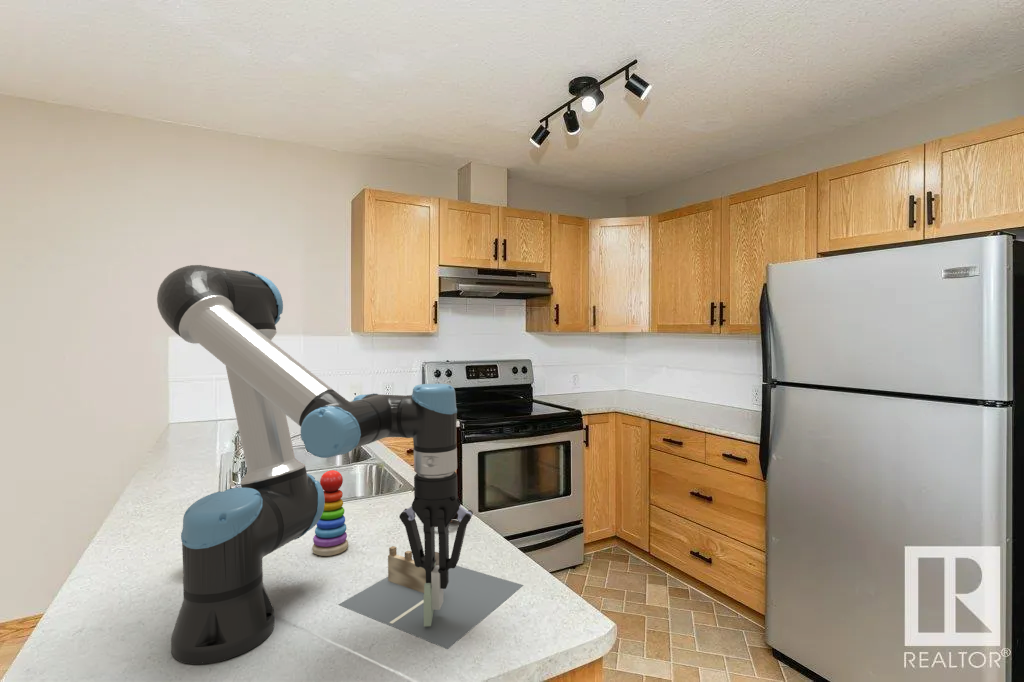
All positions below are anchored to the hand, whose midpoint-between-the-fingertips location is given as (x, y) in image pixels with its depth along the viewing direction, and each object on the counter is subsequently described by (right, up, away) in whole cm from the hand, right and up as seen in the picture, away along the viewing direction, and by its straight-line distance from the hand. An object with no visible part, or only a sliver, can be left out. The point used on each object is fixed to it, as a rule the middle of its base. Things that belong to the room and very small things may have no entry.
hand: (437, 605), depth 90 cm
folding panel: (-2, -2, +2) cm, 3 cm away
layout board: (-2, -3, +8) cm, 9 cm away
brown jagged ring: (-5, -3, +46) cm, 46 cm away
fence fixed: (-6, -2, +11) cm, 13 cm away
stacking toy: (-30, -3, +30) cm, 42 cm away
